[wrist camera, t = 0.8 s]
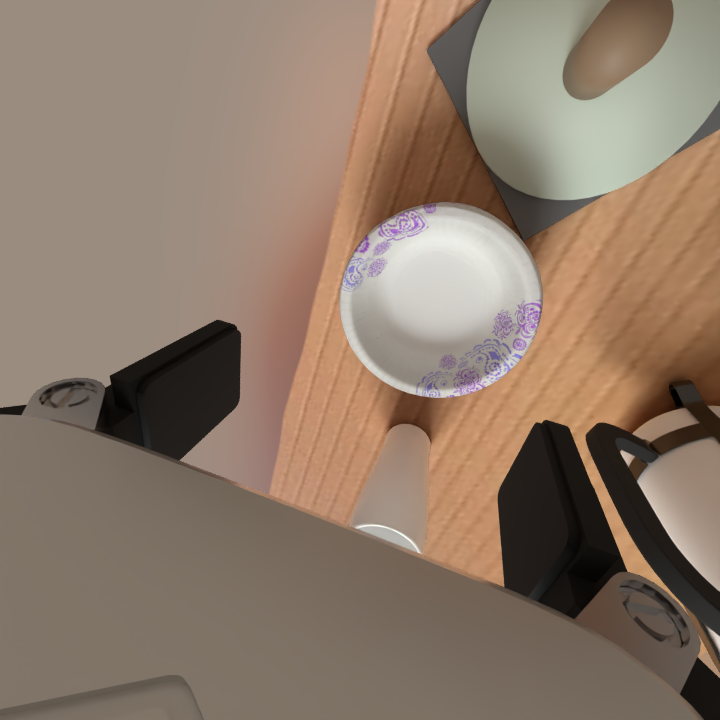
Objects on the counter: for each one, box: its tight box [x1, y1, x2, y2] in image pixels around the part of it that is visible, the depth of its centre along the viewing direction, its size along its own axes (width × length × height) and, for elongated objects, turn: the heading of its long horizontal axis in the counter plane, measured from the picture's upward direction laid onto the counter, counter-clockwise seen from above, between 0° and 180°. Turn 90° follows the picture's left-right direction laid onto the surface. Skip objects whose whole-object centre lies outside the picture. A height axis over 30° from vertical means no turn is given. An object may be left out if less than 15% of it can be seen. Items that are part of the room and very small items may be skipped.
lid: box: [466, 0, 720, 200], centre depth 21 cm, size 16×16×7 cm
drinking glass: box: [348, 424, 431, 555], centre depth 35 cm, size 7×7×15 cm
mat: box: [427, 0, 720, 241], centre depth 24 cm, size 16×16×1 cm
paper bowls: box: [339, 202, 543, 398], centre depth 30 cm, size 15×15×8 cm
